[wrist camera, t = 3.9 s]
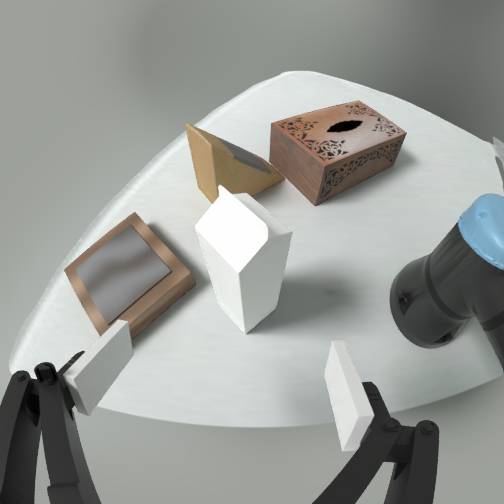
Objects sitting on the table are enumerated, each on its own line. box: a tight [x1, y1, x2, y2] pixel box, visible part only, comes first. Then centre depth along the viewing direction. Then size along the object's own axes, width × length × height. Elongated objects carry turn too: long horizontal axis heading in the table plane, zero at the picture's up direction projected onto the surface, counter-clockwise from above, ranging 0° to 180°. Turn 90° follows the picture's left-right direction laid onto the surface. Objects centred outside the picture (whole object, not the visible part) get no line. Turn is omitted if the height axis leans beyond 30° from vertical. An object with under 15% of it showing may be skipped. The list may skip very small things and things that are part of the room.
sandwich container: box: [186, 124, 285, 204], centre depth 46 cm, size 9×15×15 cm, turn 126°
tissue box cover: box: [269, 101, 407, 206], centre depth 52 cm, size 26×14×10 cm, turn 123°
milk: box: [195, 185, 292, 334], centre depth 30 cm, size 6×6×22 cm
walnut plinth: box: [64, 212, 196, 340], centre depth 39 cm, size 16×16×4 cm
